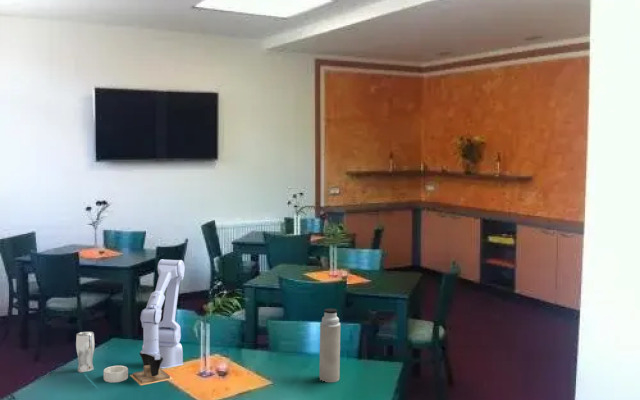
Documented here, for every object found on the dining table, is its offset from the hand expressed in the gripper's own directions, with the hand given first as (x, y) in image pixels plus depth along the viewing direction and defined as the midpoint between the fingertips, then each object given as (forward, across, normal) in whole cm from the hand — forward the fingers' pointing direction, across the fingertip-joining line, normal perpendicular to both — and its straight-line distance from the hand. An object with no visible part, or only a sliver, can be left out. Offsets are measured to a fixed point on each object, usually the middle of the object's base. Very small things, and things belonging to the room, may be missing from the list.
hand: (151, 372), depth 256 cm
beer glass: (+2, -23, -19) cm, 30 cm away
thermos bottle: (+2, +38, +59) cm, 70 cm away
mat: (+2, 0, 0) cm, 2 cm away
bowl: (+2, -6, -12) cm, 14 cm away
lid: (+2, 0, 0) cm, 2 cm away
